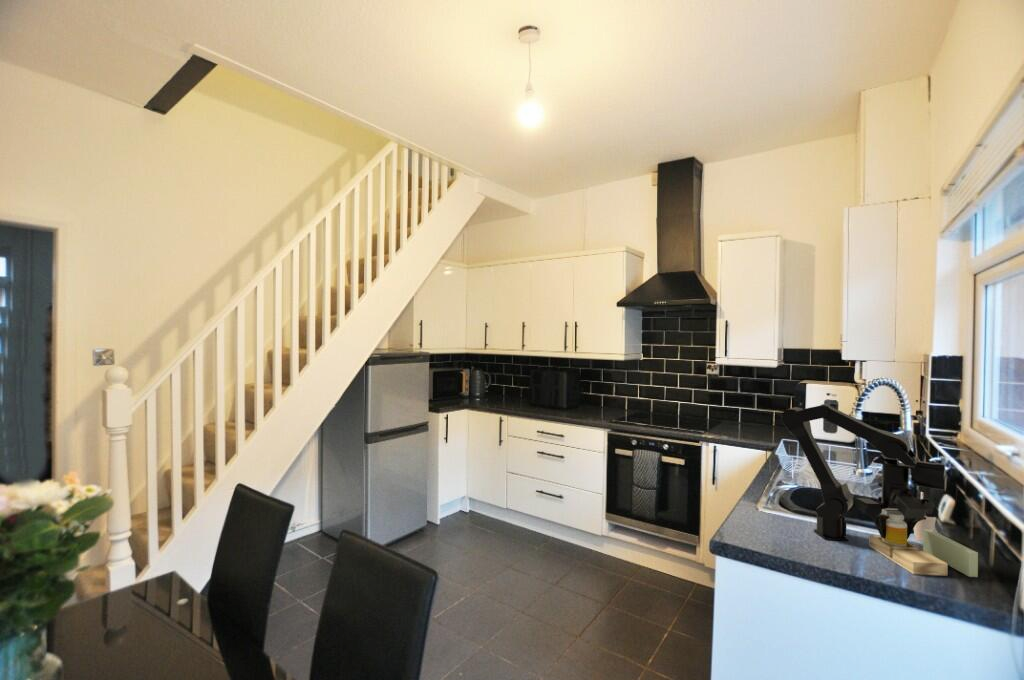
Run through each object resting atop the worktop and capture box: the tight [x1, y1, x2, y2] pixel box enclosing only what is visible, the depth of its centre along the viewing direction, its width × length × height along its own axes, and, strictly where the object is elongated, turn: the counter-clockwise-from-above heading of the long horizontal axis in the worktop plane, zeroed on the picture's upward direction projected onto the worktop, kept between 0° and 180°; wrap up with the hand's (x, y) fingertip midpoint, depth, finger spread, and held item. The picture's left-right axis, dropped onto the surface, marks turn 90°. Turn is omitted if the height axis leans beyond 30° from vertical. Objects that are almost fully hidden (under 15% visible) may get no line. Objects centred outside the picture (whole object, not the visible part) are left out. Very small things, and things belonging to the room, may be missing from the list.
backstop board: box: [923, 530, 979, 578], centre depth 122 cm, size 2×14×6 cm, turn 175°
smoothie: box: [913, 491, 937, 543], centre depth 137 cm, size 6×6×14 cm
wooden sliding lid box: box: [868, 535, 949, 577], centre depth 124 cm, size 8×16×3 cm, turn 176°
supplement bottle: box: [882, 510, 908, 547], centre depth 128 cm, size 5×5×10 cm
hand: (894, 538), depth 128 cm, fingers closed on supplement bottle, 5 cm apart
